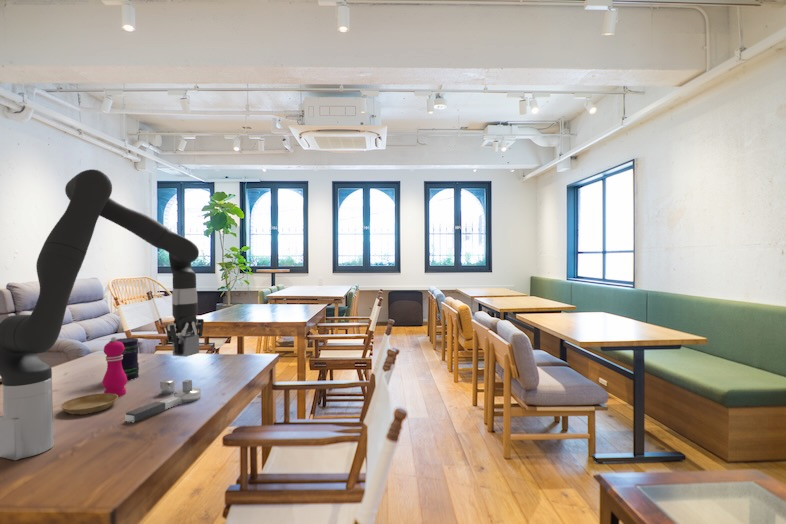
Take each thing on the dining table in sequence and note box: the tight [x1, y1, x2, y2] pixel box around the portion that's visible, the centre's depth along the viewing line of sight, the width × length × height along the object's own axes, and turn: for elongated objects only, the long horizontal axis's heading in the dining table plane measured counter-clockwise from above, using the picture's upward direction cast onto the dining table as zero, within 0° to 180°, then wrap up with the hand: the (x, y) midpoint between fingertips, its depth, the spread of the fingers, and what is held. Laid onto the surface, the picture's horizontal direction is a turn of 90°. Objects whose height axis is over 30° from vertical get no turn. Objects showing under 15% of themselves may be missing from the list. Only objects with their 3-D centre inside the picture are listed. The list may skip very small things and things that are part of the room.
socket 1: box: [159, 379, 176, 396], centre depth 148 cm, size 4×4×4 cm
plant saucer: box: [60, 392, 119, 415], centre depth 134 cm, size 15×15×3 cm
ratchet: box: [124, 379, 202, 424], centre depth 134 cm, size 25×8×6 cm, turn 160°
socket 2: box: [171, 333, 200, 358], centre depth 141 cm, size 6×6×7 cm
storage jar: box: [108, 337, 140, 381], centre depth 168 cm, size 10×10×15 cm
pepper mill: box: [101, 336, 128, 397], centre depth 147 cm, size 7×7×20 cm
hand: (186, 352), depth 141 cm, fingers closed on socket 2, 5 cm apart
